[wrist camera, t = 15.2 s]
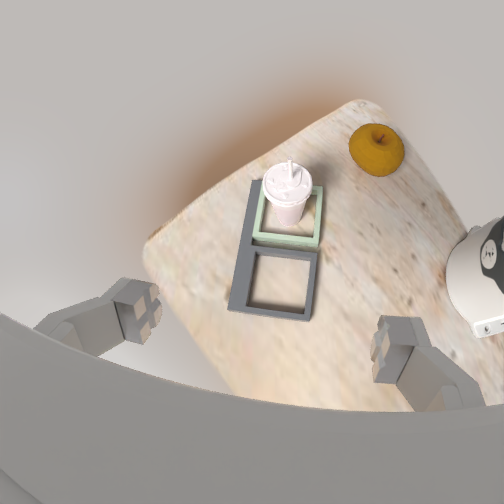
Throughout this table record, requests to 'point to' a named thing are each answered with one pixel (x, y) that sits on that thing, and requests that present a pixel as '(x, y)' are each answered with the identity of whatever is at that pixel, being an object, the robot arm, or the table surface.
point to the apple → (376, 149)
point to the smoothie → (287, 190)
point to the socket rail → (249, 252)
